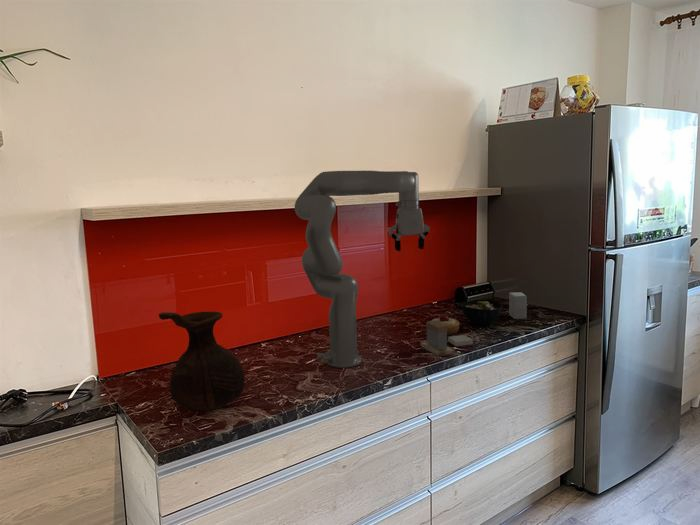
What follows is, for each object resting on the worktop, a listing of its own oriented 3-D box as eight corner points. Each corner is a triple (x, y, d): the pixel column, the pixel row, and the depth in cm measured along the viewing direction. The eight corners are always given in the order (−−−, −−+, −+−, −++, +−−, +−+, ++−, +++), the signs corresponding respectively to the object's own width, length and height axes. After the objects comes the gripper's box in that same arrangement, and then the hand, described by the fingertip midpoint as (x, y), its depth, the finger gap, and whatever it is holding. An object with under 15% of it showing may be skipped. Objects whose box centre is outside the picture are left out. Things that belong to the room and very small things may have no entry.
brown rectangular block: (438, 350, 192) (437, 327, 190) (426, 343, 200) (426, 321, 199) (447, 349, 193) (447, 326, 192) (435, 342, 201) (435, 320, 200)
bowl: (453, 324, 230) (453, 302, 228) (476, 316, 241) (476, 295, 239) (487, 331, 217) (487, 308, 215) (509, 323, 228) (509, 300, 227)
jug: (173, 393, 163) (165, 299, 159) (244, 385, 168) (238, 293, 164) (165, 424, 142) (155, 316, 138) (247, 414, 147) (240, 309, 143)
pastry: (424, 333, 219) (423, 312, 218) (444, 327, 227) (443, 307, 225) (446, 339, 210) (445, 317, 209) (465, 332, 217) (465, 311, 216)
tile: (456, 341, 200) (472, 339, 201) (447, 336, 206) (464, 334, 208) (456, 347, 200) (472, 345, 202) (447, 342, 207) (464, 340, 208)
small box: (526, 318, 235) (527, 295, 233) (514, 319, 235) (514, 296, 233) (521, 314, 242) (521, 291, 241) (508, 314, 243) (509, 292, 241)
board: (436, 355, 190) (436, 352, 190) (420, 345, 202) (420, 342, 202) (454, 353, 192) (454, 350, 192) (436, 343, 204) (436, 340, 204)
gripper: (391, 206, 194) (393, 252, 196) (433, 204, 199) (434, 249, 202) (383, 205, 201) (385, 250, 203) (424, 203, 206) (425, 247, 209)
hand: (409, 249), depth 203 cm, fingers open, 9 cm apart
